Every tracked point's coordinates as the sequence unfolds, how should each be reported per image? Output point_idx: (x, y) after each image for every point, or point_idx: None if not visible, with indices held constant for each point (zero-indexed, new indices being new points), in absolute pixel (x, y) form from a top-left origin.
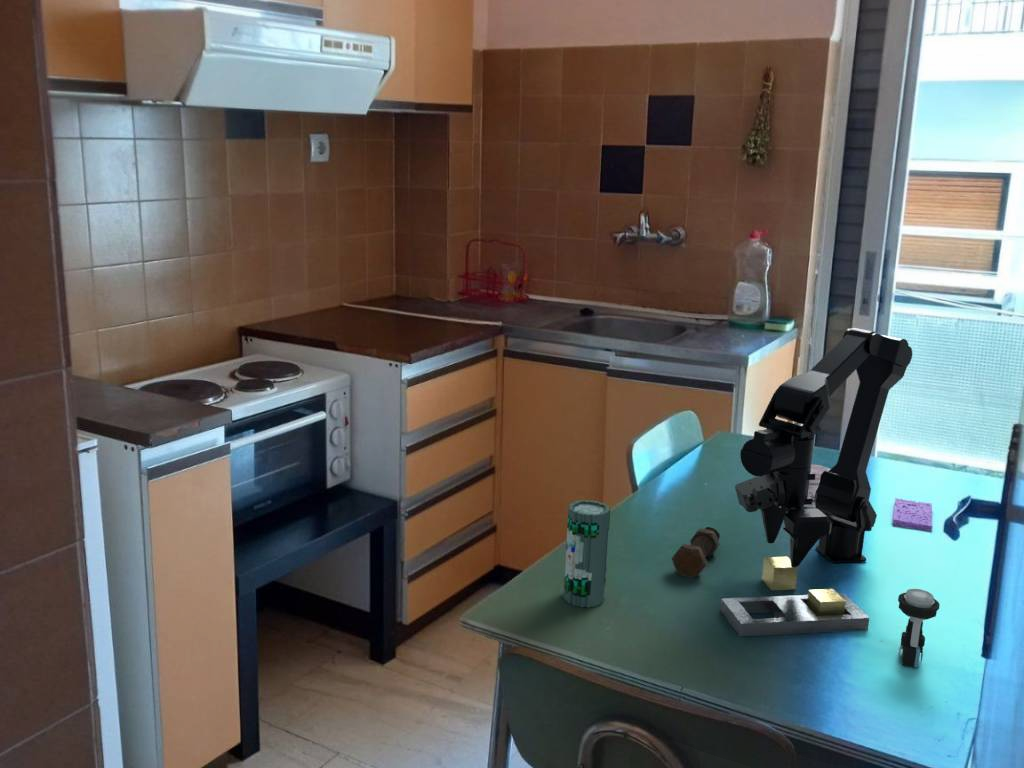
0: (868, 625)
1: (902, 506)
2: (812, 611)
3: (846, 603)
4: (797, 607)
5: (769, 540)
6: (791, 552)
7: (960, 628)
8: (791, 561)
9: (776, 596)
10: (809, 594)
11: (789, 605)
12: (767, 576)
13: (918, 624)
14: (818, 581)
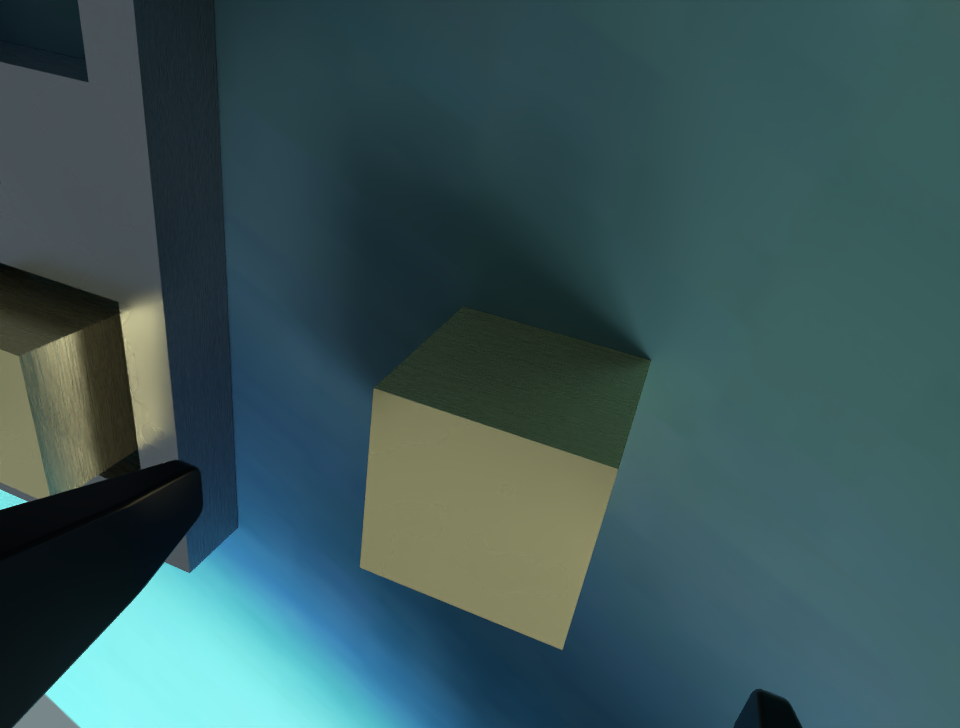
0: None
1: None
2: (59, 291)
3: None
4: (13, 199)
5: (750, 725)
6: (5, 525)
7: (82, 705)
8: (135, 481)
9: (144, 155)
10: (26, 339)
11: (28, 160)
12: (538, 361)
13: None
14: (501, 639)
